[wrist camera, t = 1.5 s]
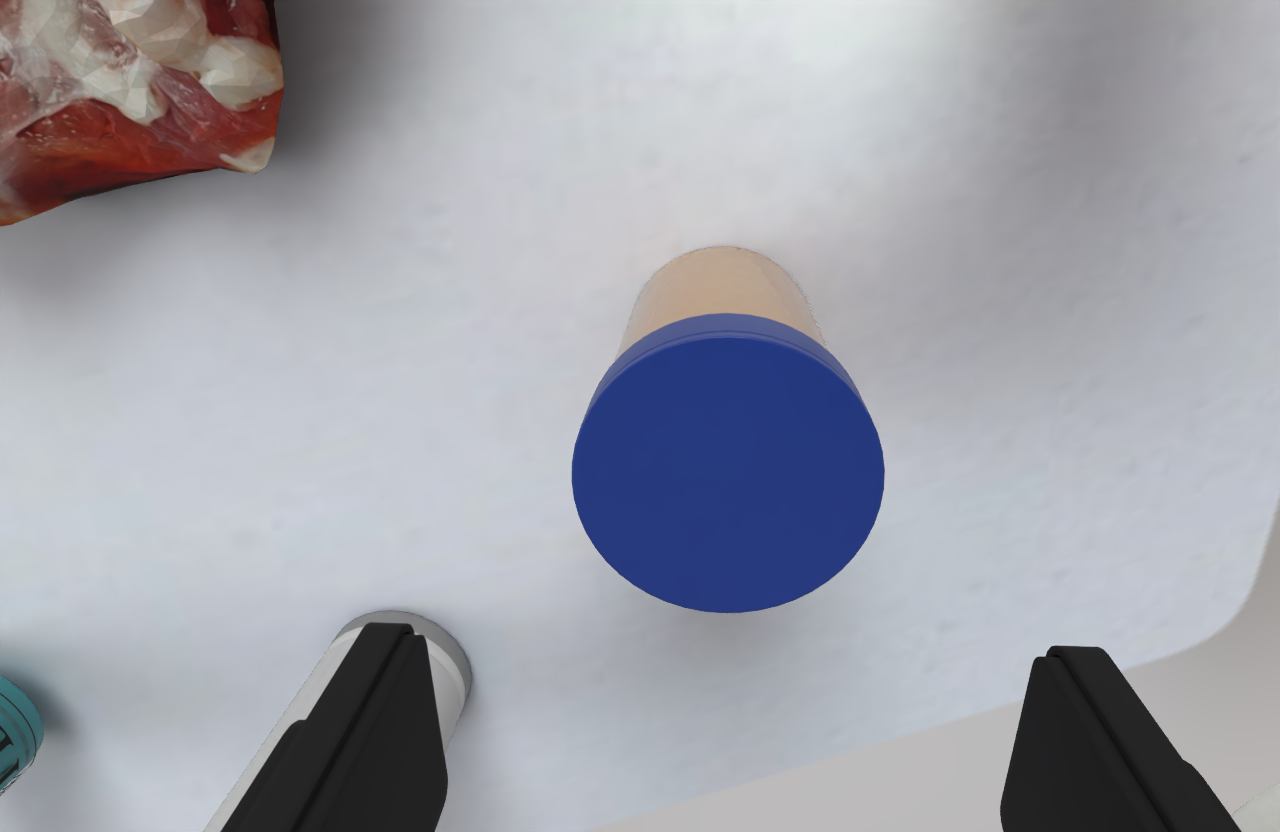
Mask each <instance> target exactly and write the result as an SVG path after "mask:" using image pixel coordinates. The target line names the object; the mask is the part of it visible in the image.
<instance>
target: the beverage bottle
mask: <svg viewBox="0 0 1280 832" xmlns="http://www.w3.org/2000/svg"><path fill="white" fill-rule="evenodd" d="M43 735H44V728H43V723H42V720H41V717H40V715H39V713H38V711H37V709H36V708H35V706H34V705H33V703H32V702H31V701H30V699H29V698H28V697H27V696H26V695H25V694H24V693H23V692H22V691H21V690H20V689H19V688H17V687H16V686H15V685H14V684H12V683H11V682H9V681H8V680H6V679H5V678H3V677H2V676H0V791H1V790H2V789H3V791H2V792H3V793H4V791H5V790H4V789H6V788H7V787H8V786H7V787H5V786H6V785H7V784H8V783H9V782H10V781H11V780H12V779H13V778H15V776H16V775H17V774H18V773H19V772H20V771H21V770H22V769H23V768H24V767H25V766H26V765H27V764H28V763H29V762H30V761H31V760H32V759H33V757H34V758H35V756H36V752H37V750H38V749H39V747H40V745H41V743H42V740H43ZM33 761H34V759H33ZM32 763H33V762H32ZM30 766H31V765H30ZM22 774H23V773H22ZM20 775H21V774H20ZM20 775H18V776H20ZM18 776H16V777H18ZM11 783H12V782H11ZM11 783H10V784H11ZM13 783H14V782H13ZM13 783H12V784H13ZM9 786H10V785H9ZM4 787H5V788H4ZM7 789H8V788H7ZM7 789H6V790H7ZM2 792H0V794H1V793H2ZM3 793H2V794H3ZM2 794H1V795H2Z"/></svg>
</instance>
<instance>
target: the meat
mask: <svg viewBox="0 0 1280 832" xmlns="http://www.w3.org/2000/svg"><path fill="white" fill-rule="evenodd" d="M283 92H284V78H283V69H282V61H281V53H280V46H279V38H278V31H277V24H276V16H275V9H274V0H0V227H1V226H6V225H11V224H14V223H17V222H19V221H22V220H25V219H27V218H30V217H32V216H35V215H38V214H40V213H43V212H45V211H48V210H51V209H53V208H55V207H58V206H60V205H62V204H65V203H67V202H69V201H72V200H75V199H78V198H81V197H86V196H92V195H96V194H100V193H104V192H107V191H111V190H115V189H119V188H122V187H126V186H130V185H135V184H140V183H144V182H149V181H154V180H159V179H164V178H169V177H174V176H178V175H183V174H188V173H195V172H202V171H209V170H213V169H217V168H222V169H226V170H230V171H237V172H244V173H250V174H256V173H257V172H259V171H260V170H262V169H263V168H265V167H266V166H267V163H268V161H269V158H270V156H271V153H272V151H273V148H274V142H275V135H276V129H277V123H278V116H279V111H280V106H281V101H282V97H283Z"/></svg>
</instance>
